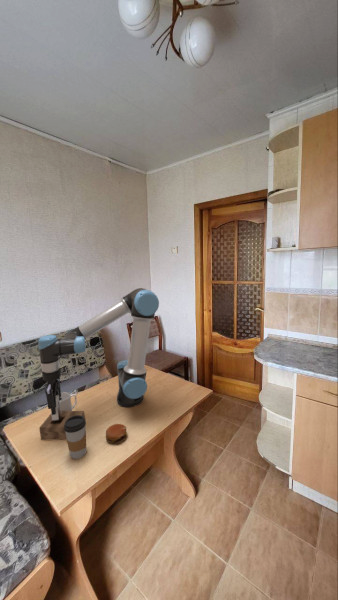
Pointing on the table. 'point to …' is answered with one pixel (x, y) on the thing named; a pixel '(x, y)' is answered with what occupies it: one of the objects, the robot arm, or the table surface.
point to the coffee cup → (76, 436)
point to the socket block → (57, 425)
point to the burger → (116, 433)
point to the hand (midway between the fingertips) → (56, 416)
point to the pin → (58, 408)
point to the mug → (67, 401)
